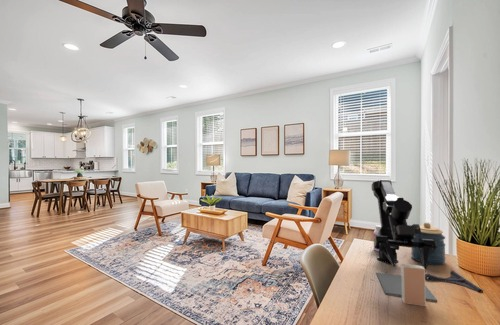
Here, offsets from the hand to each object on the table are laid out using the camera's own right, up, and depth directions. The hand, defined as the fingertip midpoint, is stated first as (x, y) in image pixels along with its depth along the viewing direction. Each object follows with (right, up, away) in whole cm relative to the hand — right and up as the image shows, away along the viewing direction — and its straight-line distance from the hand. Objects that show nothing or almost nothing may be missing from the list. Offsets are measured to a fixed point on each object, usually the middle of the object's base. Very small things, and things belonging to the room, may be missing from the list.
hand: (409, 267), depth 79 cm
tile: (-1, -10, -3) cm, 11 cm away
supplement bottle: (+15, -11, +43) cm, 47 cm away
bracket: (+22, -11, +11) cm, 27 cm away
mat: (+3, -10, +7) cm, 13 cm away
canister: (+30, -11, +31) cm, 44 cm away
